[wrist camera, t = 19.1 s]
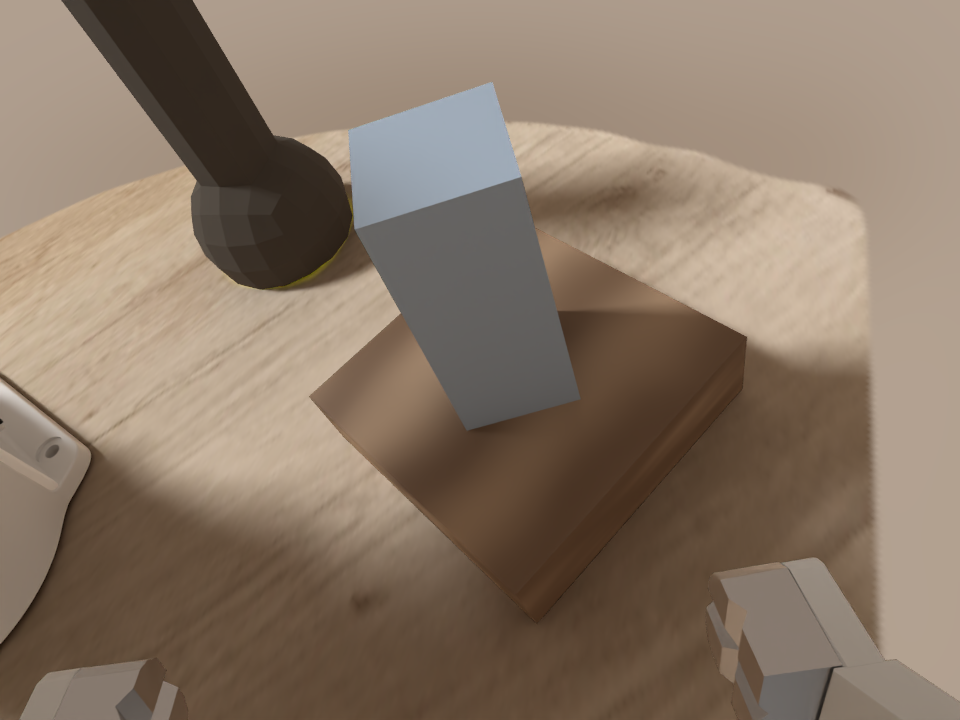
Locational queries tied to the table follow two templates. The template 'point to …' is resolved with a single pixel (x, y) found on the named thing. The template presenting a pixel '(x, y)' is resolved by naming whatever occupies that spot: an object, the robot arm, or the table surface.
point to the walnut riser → (546, 427)
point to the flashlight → (222, 143)
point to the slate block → (462, 254)
